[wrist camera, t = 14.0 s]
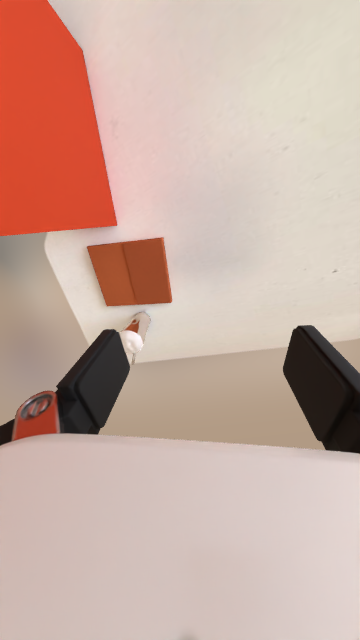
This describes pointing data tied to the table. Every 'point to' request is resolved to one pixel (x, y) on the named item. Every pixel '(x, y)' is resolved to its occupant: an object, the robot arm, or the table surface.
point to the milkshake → (135, 334)
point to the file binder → (47, 127)
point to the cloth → (132, 272)
